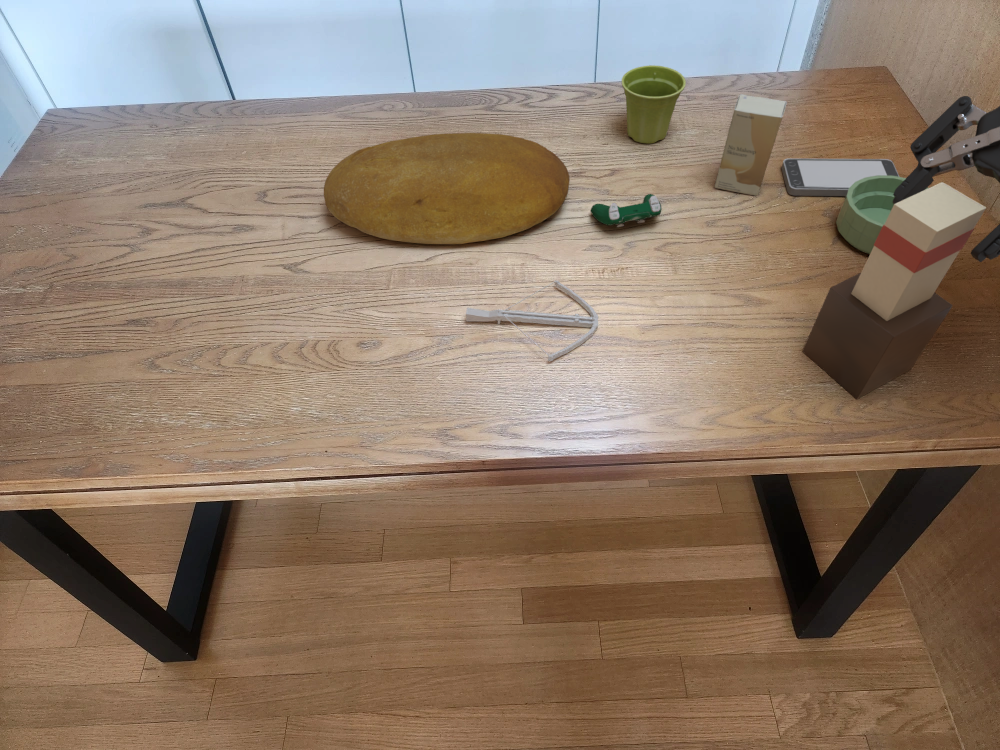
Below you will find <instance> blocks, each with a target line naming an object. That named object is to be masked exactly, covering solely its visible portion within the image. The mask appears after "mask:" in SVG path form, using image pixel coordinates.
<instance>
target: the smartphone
mask: <svg viewBox="0 0 1000 750" xmlns="http://www.w3.org/2000/svg"><path fill="white" fill-rule="evenodd" d="M780 168H781V172H782V177H783V180H784V185H785V189H786V192H787V194H789V195H790V196H794V197H795V196H798V197H799V196H800V197H803V196H804V197H806V196H807V197H845V196H846V194H847V191H848V189H849V188H850V187H851V186H852V185H853V184H854V183H855V182H856V181H858V180H861V179H863V178H866V177H871V176H877V175H888V176H897V177H900V175H899V172H898V170H897V168H896V166H895V164H894V162H893V160H891V159H888V158H785V159H783V161H782V164H781V167H780Z"/></svg>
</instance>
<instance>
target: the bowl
mask: <svg viewBox="0 0 1000 750" xmlns="http://www.w3.org/2000/svg"><path fill="white" fill-rule="evenodd" d="M906 178H907V177H902V176H899V177H897V176H888V175H877V176H871V177H866V178H863V179H861V180H858V181H856V182H855V183H854V184H853V185H852V186H851V187H850V188H849V189H848V191H847V194H846V196H844V199H843V201H842V204H841V206H840V209H839V211H838V214H837V217H836V221H835V224H836V227H837V231H838V233H839V234H840V235H841V236H842V237H843V238H844V240H845V241H846V242H847V243H848V244H849V245H851V246H852V248H853V247H854V248H855V249H856V250H858V251H860V252H863V253H865V254H868V255H870V253H871V251H872V249H873V247H874V243H875V241H876V239H877V237H878V235H879V233H880V231H881V229H882V227H883V225H884V224H885V222H886V220H887V218H888V216H889V214H890V212H891V210H892V208H893V206H894V204H893V203H892V202H893V199H894V198H895V197H894V195H893V194H894V192H895V189H896V188H897V187H898V186H899V185H900V184H901V183H902V182H903V181H904V180H905V179H906ZM928 188H929V186H928V187H927V188H926V189H928ZM926 189H925V190H926Z"/></svg>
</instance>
